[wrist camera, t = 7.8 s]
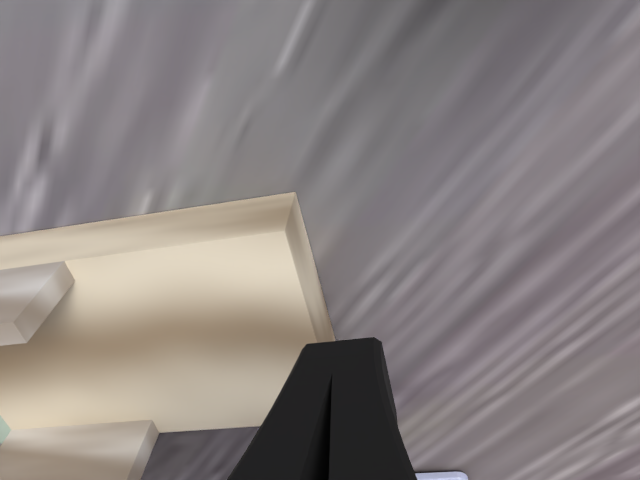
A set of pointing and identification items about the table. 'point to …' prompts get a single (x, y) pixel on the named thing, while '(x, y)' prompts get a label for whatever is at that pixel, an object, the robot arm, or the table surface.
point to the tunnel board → (149, 332)
